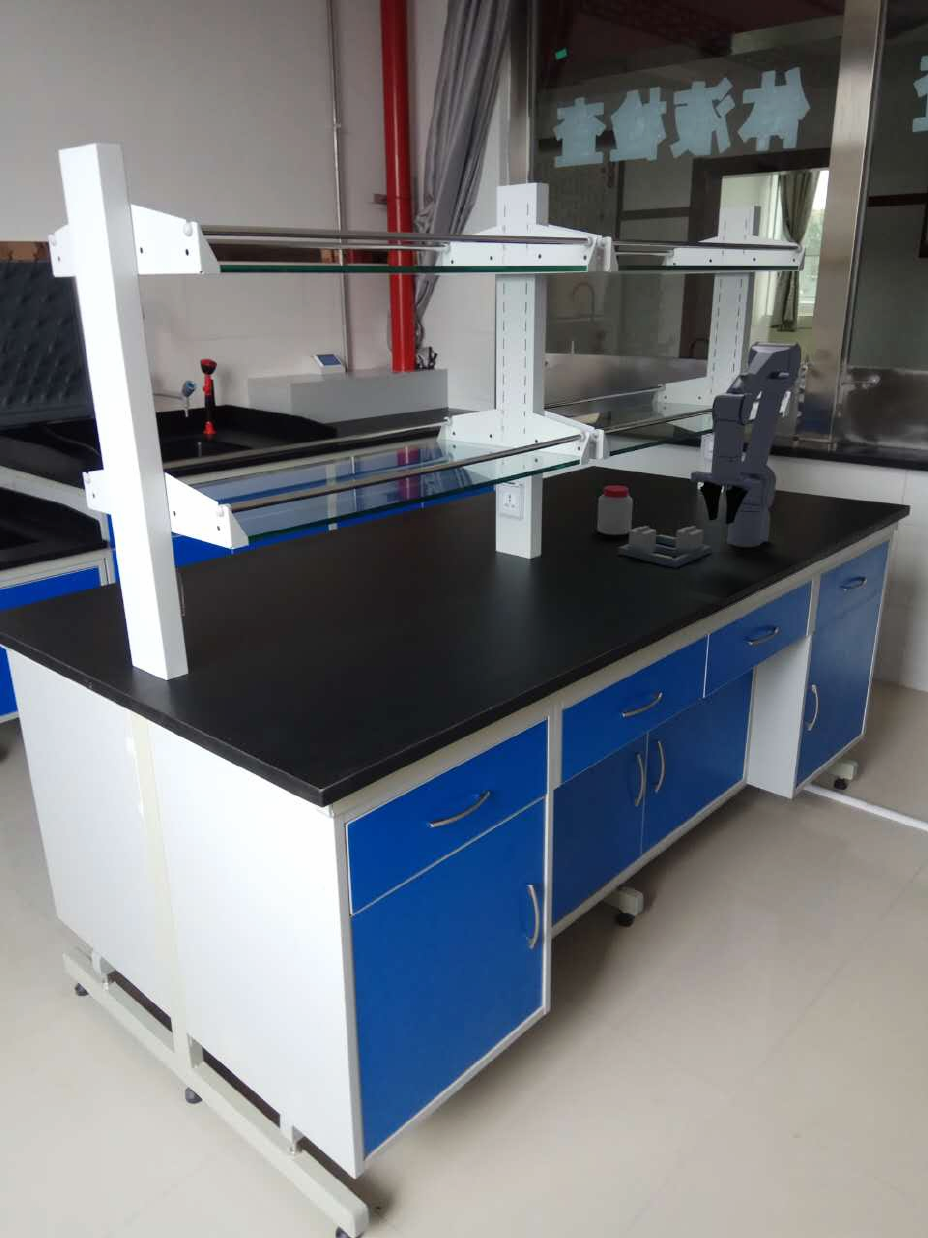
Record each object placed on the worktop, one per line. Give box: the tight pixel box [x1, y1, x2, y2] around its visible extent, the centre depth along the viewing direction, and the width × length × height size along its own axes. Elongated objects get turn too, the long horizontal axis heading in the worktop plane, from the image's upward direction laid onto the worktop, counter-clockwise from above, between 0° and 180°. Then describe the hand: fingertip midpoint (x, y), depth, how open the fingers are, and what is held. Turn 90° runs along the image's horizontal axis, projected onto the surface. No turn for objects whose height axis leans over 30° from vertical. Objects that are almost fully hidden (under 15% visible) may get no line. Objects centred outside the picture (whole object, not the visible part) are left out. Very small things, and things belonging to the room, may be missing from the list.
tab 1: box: [628, 525, 657, 554], centre depth 197 cm, size 4×4×6 cm
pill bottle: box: [596, 485, 634, 536], centre depth 214 cm, size 8×8×11 cm
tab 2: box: [674, 525, 704, 552], centre depth 196 cm, size 4×4×6 cm
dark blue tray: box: [618, 533, 713, 568], centre depth 199 cm, size 14×19×3 cm
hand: (721, 521), depth 190 cm, fingers open, 3 cm apart
